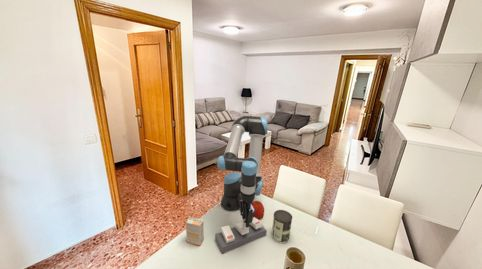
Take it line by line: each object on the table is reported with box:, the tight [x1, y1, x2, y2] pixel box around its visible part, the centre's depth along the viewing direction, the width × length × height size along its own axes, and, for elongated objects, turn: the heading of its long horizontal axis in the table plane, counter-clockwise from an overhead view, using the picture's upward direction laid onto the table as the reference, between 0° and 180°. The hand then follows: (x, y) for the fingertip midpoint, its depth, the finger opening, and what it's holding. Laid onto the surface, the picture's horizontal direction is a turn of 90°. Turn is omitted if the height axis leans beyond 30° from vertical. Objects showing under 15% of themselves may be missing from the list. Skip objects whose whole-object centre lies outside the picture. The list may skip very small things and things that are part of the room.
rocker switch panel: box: [214, 223, 268, 255], centre depth 108 cm, size 10×28×5 cm, turn 119°
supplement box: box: [185, 216, 205, 247], centre depth 103 cm, size 8×5×13 cm, turn 74°
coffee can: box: [271, 209, 293, 244], centre depth 109 cm, size 10×10×14 cm
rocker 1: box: [220, 224, 235, 243], centre depth 102 cm, size 8×4×2 cm, turn 29°
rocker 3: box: [249, 217, 263, 229], centre depth 112 cm, size 8×4×3 cm, turn 29°
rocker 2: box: [234, 220, 249, 235], centre depth 107 cm, size 8×4×2 cm, turn 29°
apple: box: [253, 200, 265, 220], centre depth 126 cm, size 10×10×10 cm
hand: (245, 230), depth 103 cm, fingers closed
